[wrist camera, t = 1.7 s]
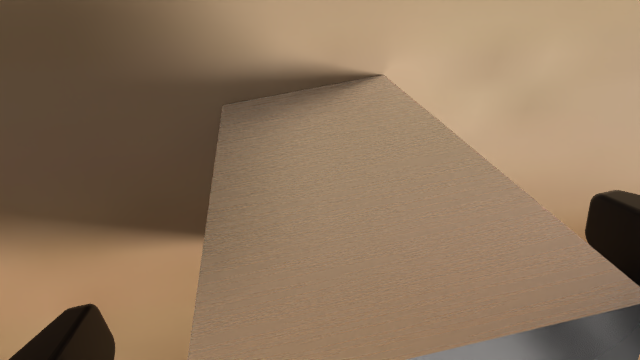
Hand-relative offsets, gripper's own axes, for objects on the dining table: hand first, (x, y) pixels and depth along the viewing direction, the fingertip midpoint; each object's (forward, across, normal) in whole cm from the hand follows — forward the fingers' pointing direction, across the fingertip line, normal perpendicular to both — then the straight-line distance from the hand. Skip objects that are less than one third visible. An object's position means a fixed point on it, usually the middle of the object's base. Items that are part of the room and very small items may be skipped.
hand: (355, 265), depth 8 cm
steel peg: (+4, 0, 0) cm, 4 cm away
